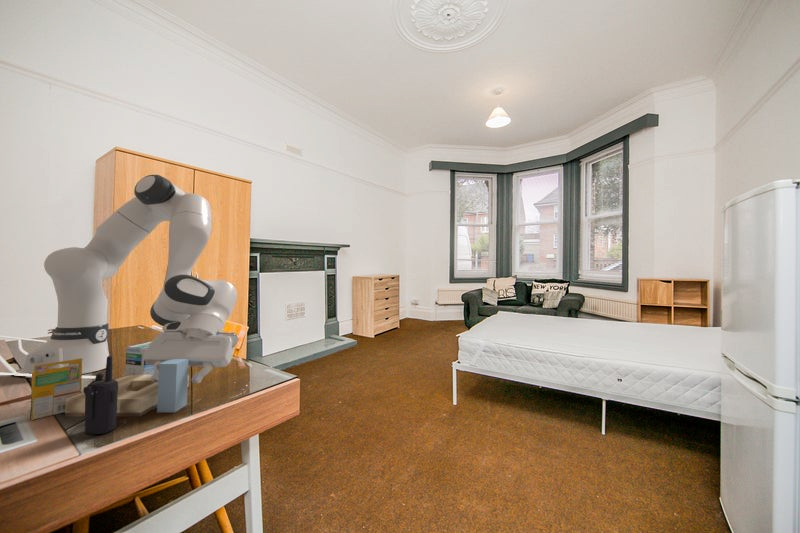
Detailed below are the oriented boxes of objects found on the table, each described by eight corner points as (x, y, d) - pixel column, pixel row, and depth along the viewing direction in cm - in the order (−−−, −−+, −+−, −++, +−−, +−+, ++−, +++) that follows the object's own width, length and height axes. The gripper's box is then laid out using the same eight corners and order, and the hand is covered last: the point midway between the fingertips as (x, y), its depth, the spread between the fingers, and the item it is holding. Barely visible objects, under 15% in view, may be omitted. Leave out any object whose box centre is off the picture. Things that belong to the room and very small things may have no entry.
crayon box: (78, 405, 71) (80, 356, 71) (80, 408, 69) (83, 358, 70) (29, 416, 65) (32, 363, 65) (30, 420, 63) (33, 365, 64)
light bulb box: (142, 387, 82) (144, 348, 83) (123, 385, 84) (124, 346, 84) (178, 375, 93) (179, 340, 93) (160, 373, 94) (162, 338, 95)
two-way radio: (120, 428, 61) (124, 354, 61) (95, 440, 57) (99, 360, 57) (98, 425, 62) (101, 352, 62) (71, 437, 57) (75, 358, 58)
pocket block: (65, 416, 65) (65, 398, 66) (128, 388, 81) (128, 374, 81) (140, 416, 66) (141, 399, 66) (188, 388, 82) (189, 374, 82)
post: (156, 412, 68) (159, 363, 68) (169, 404, 72) (171, 358, 72) (175, 412, 68) (176, 363, 69) (186, 404, 72) (188, 359, 73)
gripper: (244, 339, 84) (224, 388, 74) (170, 337, 83) (139, 386, 73) (237, 326, 79) (214, 376, 70) (158, 324, 79) (123, 374, 69)
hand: (175, 381), depth 71 cm, fingers open, 8 cm apart
